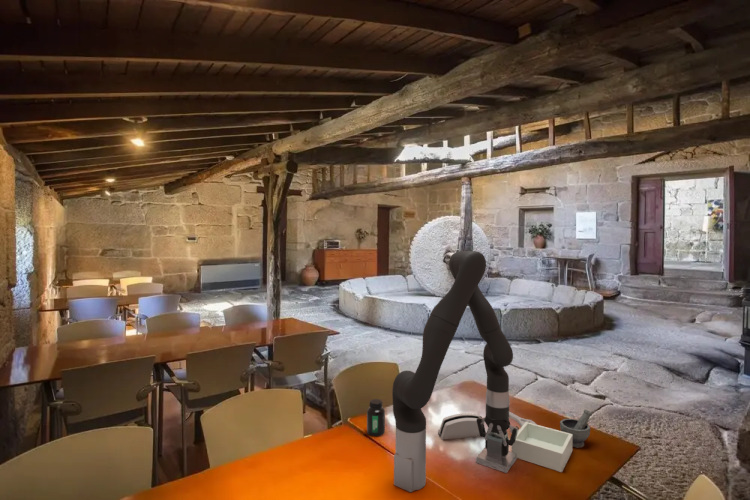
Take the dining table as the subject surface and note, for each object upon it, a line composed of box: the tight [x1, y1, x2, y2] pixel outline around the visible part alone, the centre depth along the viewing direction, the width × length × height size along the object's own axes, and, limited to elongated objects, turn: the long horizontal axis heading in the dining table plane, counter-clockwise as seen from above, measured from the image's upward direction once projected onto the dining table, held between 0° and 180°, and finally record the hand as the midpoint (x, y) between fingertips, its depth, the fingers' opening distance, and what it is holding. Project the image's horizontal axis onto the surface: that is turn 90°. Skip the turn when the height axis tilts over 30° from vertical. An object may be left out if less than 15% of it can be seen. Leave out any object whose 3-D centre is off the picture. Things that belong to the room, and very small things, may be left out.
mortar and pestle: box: [559, 409, 593, 449], centre depth 149 cm, size 11×9×12 cm
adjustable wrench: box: [509, 410, 537, 428], centre depth 171 cm, size 25×6×2 cm, turn 19°
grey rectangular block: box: [487, 432, 504, 460], centre depth 136 cm, size 5×5×7 cm
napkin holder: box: [437, 412, 481, 440], centre depth 153 cm, size 17×5×10 cm, turn 100°
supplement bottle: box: [366, 398, 386, 437], centre depth 156 cm, size 7×7×12 cm
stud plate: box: [475, 447, 518, 474], centre depth 137 cm, size 10×10×7 cm
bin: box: [511, 422, 573, 473], centre depth 141 cm, size 16×16×6 cm
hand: (496, 452), depth 137 cm, fingers closed on grey rectangular block, 4 cm apart
